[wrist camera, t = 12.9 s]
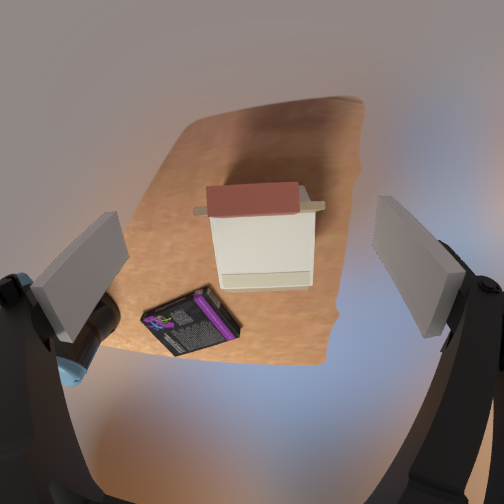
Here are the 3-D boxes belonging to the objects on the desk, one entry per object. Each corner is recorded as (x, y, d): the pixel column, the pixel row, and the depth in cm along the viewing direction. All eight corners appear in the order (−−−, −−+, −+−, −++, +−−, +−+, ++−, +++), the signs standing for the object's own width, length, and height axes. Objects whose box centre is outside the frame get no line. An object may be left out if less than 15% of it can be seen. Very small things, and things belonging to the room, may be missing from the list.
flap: (158, 220, 19) (157, 191, 19) (212, 221, 37) (211, 206, 37) (352, 210, 18) (350, 180, 18) (312, 217, 36) (311, 201, 36)
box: (208, 283, 60) (142, 311, 65) (206, 293, 57) (137, 321, 62) (241, 326, 65) (176, 348, 70) (240, 337, 62) (173, 358, 67)
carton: (229, 254, 55) (221, 294, 44) (221, 189, 48) (209, 217, 38) (303, 251, 54) (312, 291, 43) (304, 185, 47) (315, 212, 37)
